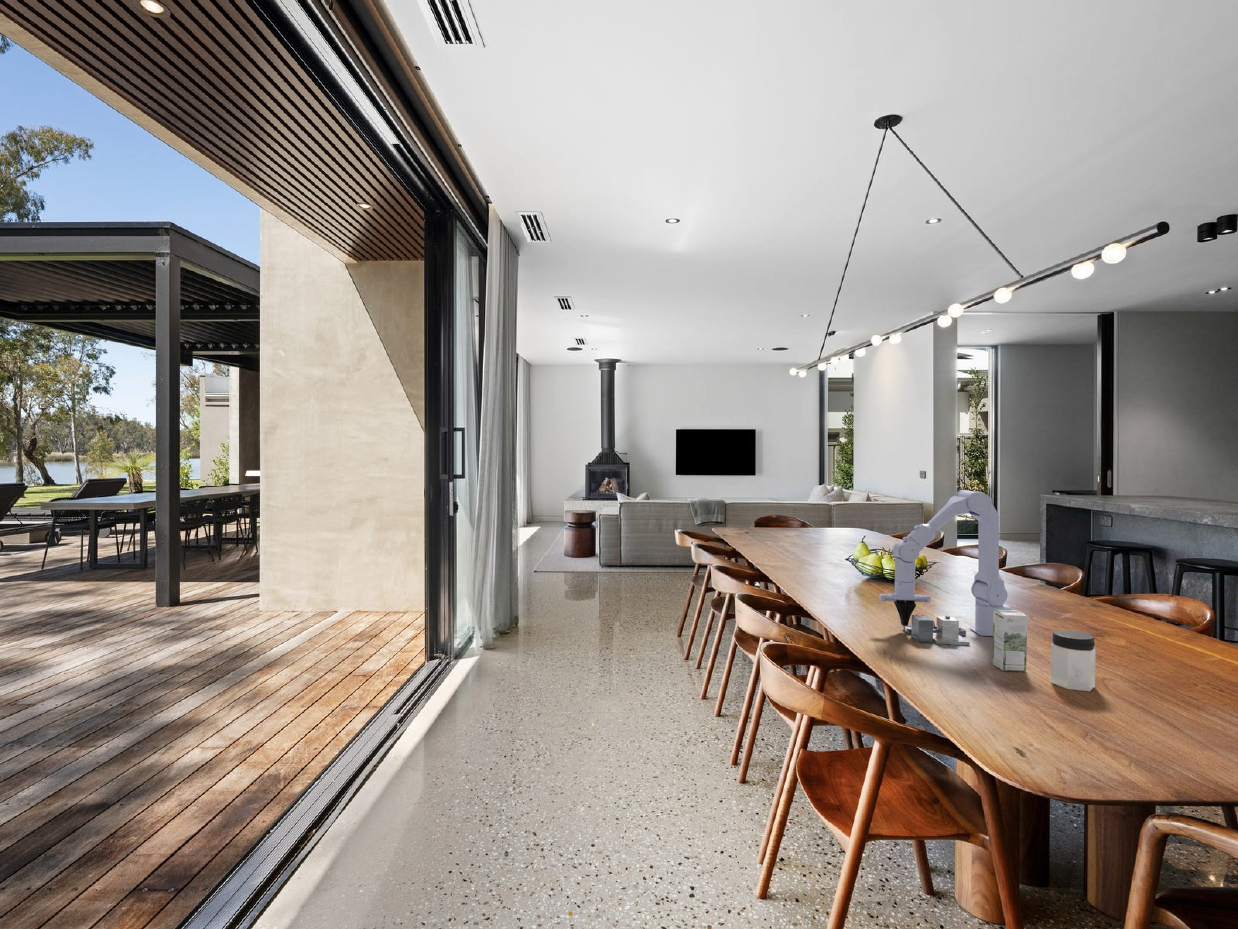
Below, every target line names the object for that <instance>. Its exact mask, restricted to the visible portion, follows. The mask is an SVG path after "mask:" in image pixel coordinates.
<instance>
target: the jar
mask: <svg viewBox="0 0 1238 929" xmlns="http://www.w3.org/2000/svg"><path fill="white" fill-rule="evenodd" d="M1095 644H1096V642H1095V637H1094V636H1093V635H1092V634H1088V633H1087V632H1080V631H1075V630H1066V629H1059V630H1058V629H1057V630H1054V631H1052V643H1051V645H1050V683H1051V684H1053V685H1055V684H1056V686H1059V687H1061V688H1062V689H1066V690H1069V691H1070V690H1071V691H1080V692H1091V691H1092V690H1093V689H1094V688H1096V647H1095Z"/></svg>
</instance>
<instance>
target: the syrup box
mask: <svg viewBox="0 0 1238 929" xmlns="http://www.w3.org/2000/svg"><path fill="white" fill-rule="evenodd" d="M1028 619H1029V616H1027V614H1025V613H1023V611H1020V610H1016V609H1015V610H1014V609H1011V610H994V613H993V636H992V658H991V659H992V660H991V661H992V664H994V665H993V666H995V668H996V667H997V668H998V667H999V668H1000V669H999V668H998V669H999V670H1001V671H1003V672H1020V673H1021V672H1025V673H1026V672H1027V659H1028V658H1027V657H1028V656H1027V654H1028V653H1027V652H1028V621H1029V620H1028Z"/></svg>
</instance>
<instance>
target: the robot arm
mask: <svg viewBox="0 0 1238 929" xmlns="http://www.w3.org/2000/svg"><path fill="white" fill-rule="evenodd" d="M965 514H969V515H971V516H972V517H973V518H974V519H975V520H977V522H978V524H977V525H978V527H977V528H978V529H977V530H978V531H977V532H978V533H977V534H978V535H977V536H978V539H977V540H978V546H977V547H978V552H977V554H978V558H977V559H978V564H977V565H978V566H977V567H978V571H977V572H976V573H975V575H974V580H973V583H972V585H971V590H970V591H971V594H972V596H973V597H974V598H975V604H974V605H975V610H974V611H975V612H974V613H975V615H974V618H975V620H974V621H975V622H974V623H975V624H974V626H975V627H973V626H972V627H971V626H970V627H969V630H971V631H972V632H974V633H976V634H978V635H979V636H982V637H983V636H985V637H993V613H994V610H1012V608H1011V607H1010V606H1009V605H1008V604H1005V603H1006V602H1007V600H1008V597H1009V596H1008V590H1007V589H1006V587H1005V580H1004V579H1003V577H1002V576H1001V574H1000V572H999V571H1000V570H999V569H1000V566H999V565H1000V560H999V558H1000V556H999V555H1000V554H999V553H1000V551H999V549H1000V545H999V544H1000V543H999V541H1000V540H999V538H1000V532H999V530H1000V529H999V528H1000V527H999V525H1000V524H999V522H1000V520H999V518H1000V517H999V513H998V512H997V509H996V508H995V506H994V505H993V500H992V497H991V496H989V495H988V494H986V493H984V492H982V491H974V490H973V491H971V490H966V489H962V490H959V491H958V492H956V493H955V495H953V496H951V497H950V498H949V500H948V502H946V504H945V505H943V507H941V509H940V510H939V511H937V512H936V514H935V515H934V516H933V517H932V518H931V519H929V521H927V523H920V524H919V525H918V524H916V525H915V526H914V527H913V529H914V530H912V531H911V532H910V533H908V535H907V536H903V537H902V540H900V541H897V542H896V543H895V544H894V545H893V548H892V549H891V554H892V555H893V557H894V593H879V594H878V596H879V598H878V599H879V601H880V602H882V603H883V602H893V604H894V606H895V607H896V610H897V613H898V615H899V619H900V624H901V626H902V627H903V626H909V623H910V619H911V617H912V615H913V612H914V610H915V609H916V607H917V603H927V604H930V603H931V599H932V597H931V596H930V595H929V594H917V593H916V560H918V558H919V556H920V552H922V550H923V549H925V547H927V546H928V545H929V544H930V543H931V542H932V541H933V540H934V539H935V538H936V533H937V532H938V530H939V529H940V528H942V527H943V526H945V525H946V524H947V523H948V522H949V521H951V520H952V519H954V517H956V516H958V515H965ZM916 602H917V603H916Z"/></svg>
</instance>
